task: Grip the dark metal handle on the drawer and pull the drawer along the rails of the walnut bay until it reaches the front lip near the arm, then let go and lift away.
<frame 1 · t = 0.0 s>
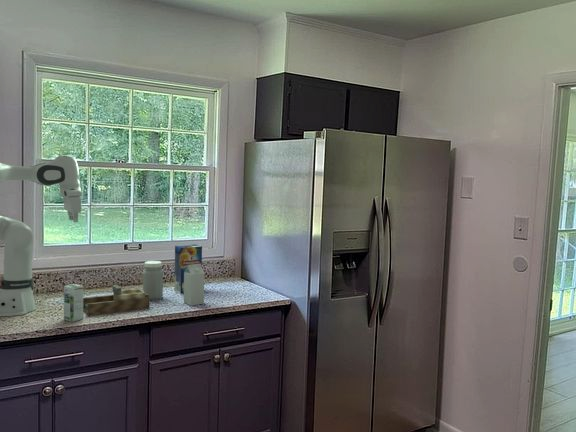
hand: (73, 221, 240), 39 cm above the worktop, tool pointing down, fingers open, 8 cm apart
jar: (152, 298, 259), on the worktop
milk carton: (193, 303, 252), on the worktop
drawer: (128, 295, 241), point 6 cm above the worktop, slide at 0.0 cm
bay: (115, 308, 238), on the worktop
juice carton: (187, 291, 275), on the worktop
syrup box: (73, 319, 220), on the worktop
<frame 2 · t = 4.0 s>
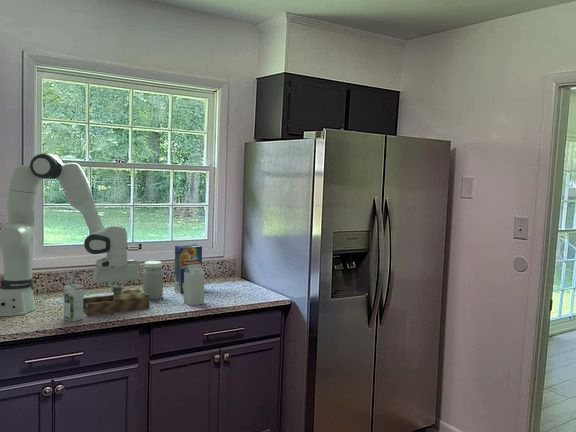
hand: (116, 290, 238), 8 cm above the worktop, tool pointing down, fingers closed on drawer, 2 cm apart
drawer: (128, 295, 241), point 6 cm above the worktop, slide at 0.0 cm, touching gripper
everything else where it was.
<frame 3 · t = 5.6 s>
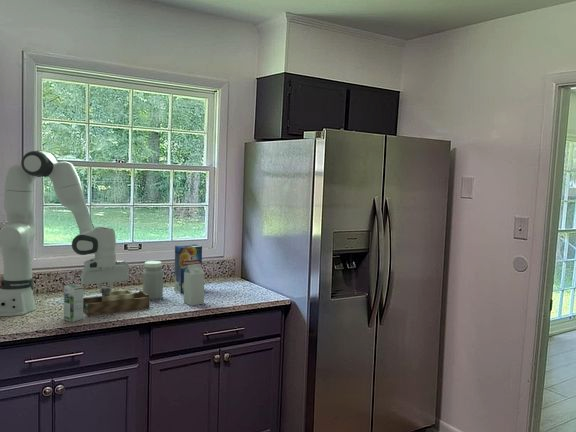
hand: (105, 292, 235), 8 cm above the worktop, tool pointing down, fingers closed on drawer, 2 cm apart
drawer: (117, 296, 238), point 6 cm above the worktop, slide at 5.2 cm, touching gripper
everything else where it was.
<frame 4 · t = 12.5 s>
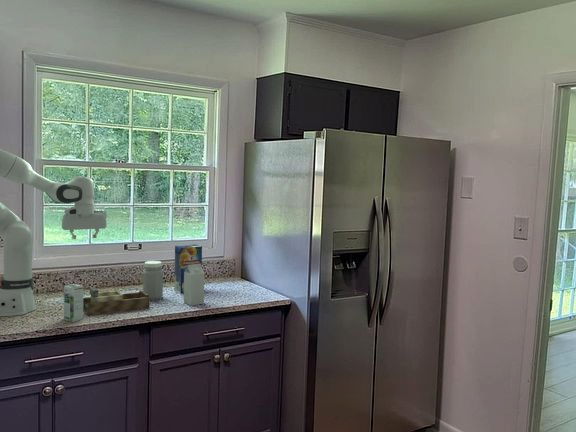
hand: (84, 238, 253), 29 cm above the worktop, tool pointing down, fingers open, 8 cm apart
drawer: (106, 297, 235), point 6 cm above the worktop, slide at 10.0 cm
everything else where it was.
at the end: drawer slide at 10.0 cm; the gripper is holding nothing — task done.
